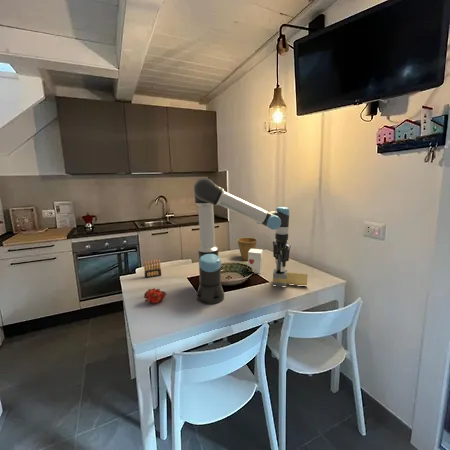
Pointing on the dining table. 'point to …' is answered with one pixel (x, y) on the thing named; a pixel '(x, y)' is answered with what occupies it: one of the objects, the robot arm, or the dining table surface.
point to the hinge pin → (279, 263)
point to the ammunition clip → (152, 269)
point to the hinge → (289, 278)
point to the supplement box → (255, 259)
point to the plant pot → (246, 246)
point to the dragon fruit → (154, 295)
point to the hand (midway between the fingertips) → (280, 270)
